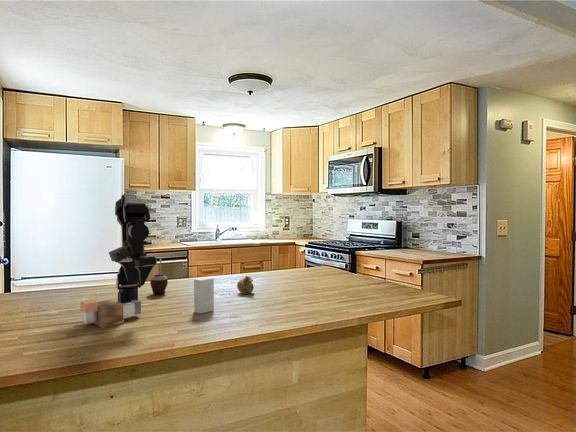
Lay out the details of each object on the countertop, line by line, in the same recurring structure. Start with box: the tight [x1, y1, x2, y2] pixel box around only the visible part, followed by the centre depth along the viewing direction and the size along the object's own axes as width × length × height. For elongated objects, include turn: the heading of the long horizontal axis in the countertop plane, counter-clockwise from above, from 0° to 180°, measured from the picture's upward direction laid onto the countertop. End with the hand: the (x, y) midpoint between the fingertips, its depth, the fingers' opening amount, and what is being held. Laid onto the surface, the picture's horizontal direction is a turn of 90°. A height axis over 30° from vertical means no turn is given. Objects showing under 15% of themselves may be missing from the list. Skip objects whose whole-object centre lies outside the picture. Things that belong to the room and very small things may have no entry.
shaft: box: [82, 299, 142, 325], centre depth 134 cm, size 18×3×4 cm, turn 137°
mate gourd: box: [150, 257, 169, 296], centre depth 174 cm, size 8×8×15 cm
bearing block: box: [92, 299, 125, 329], centre depth 132 cm, size 7×10×6 cm
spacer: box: [79, 298, 99, 313], centre depth 128 cm, size 4×4×3 cm
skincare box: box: [193, 276, 215, 314], centre depth 147 cm, size 6×4×12 cm
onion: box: [236, 275, 255, 295], centre depth 177 cm, size 8×8×8 cm
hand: (135, 283), depth 140 cm, fingers open, 9 cm apart
